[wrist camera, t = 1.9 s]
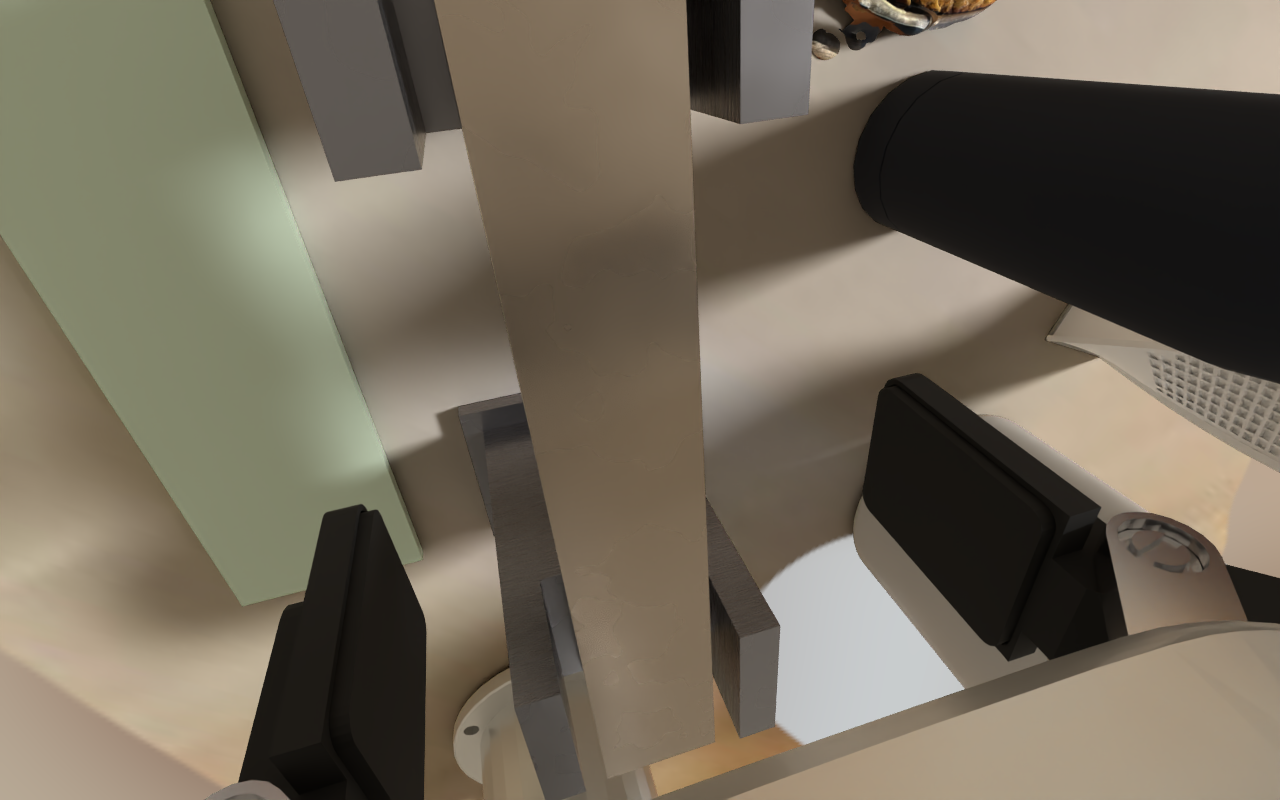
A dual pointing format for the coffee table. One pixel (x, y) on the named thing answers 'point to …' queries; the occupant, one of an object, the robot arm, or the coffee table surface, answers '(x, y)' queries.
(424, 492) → the coffee table surface
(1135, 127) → the wine bottle
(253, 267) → the mat
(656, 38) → the rail
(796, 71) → the post
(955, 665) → the cylinder vase
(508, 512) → the post
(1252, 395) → the skyscraper
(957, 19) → the pastry
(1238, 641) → the robot arm
